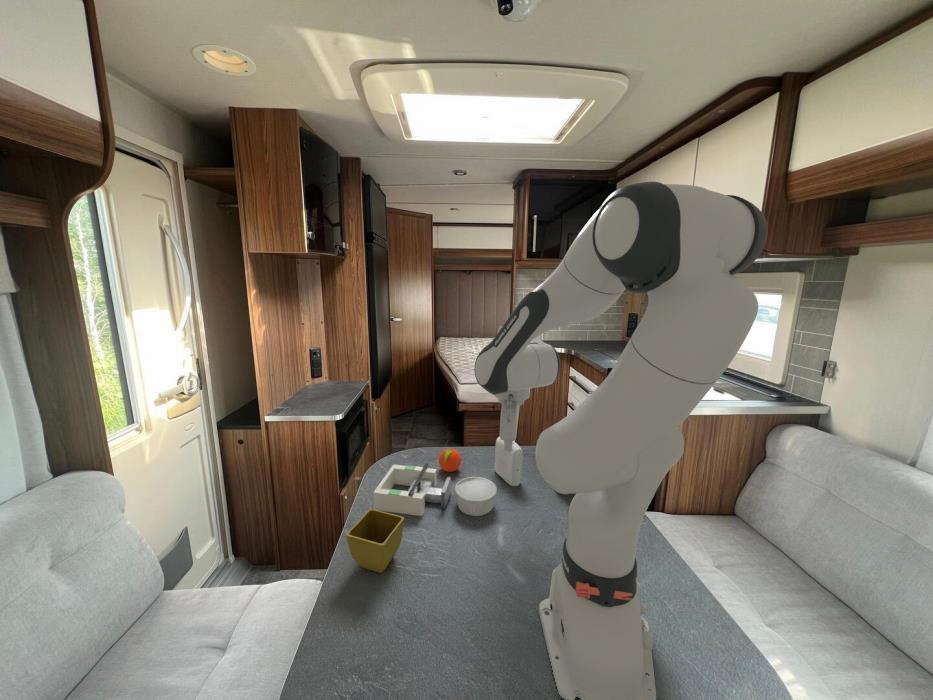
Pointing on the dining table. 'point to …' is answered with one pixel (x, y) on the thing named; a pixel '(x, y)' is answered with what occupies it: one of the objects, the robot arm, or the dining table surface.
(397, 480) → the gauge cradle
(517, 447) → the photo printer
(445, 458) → the red tomato
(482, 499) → the ramekin
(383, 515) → the flower pot
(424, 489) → the grey metal pieces
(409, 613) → the dining table surface
